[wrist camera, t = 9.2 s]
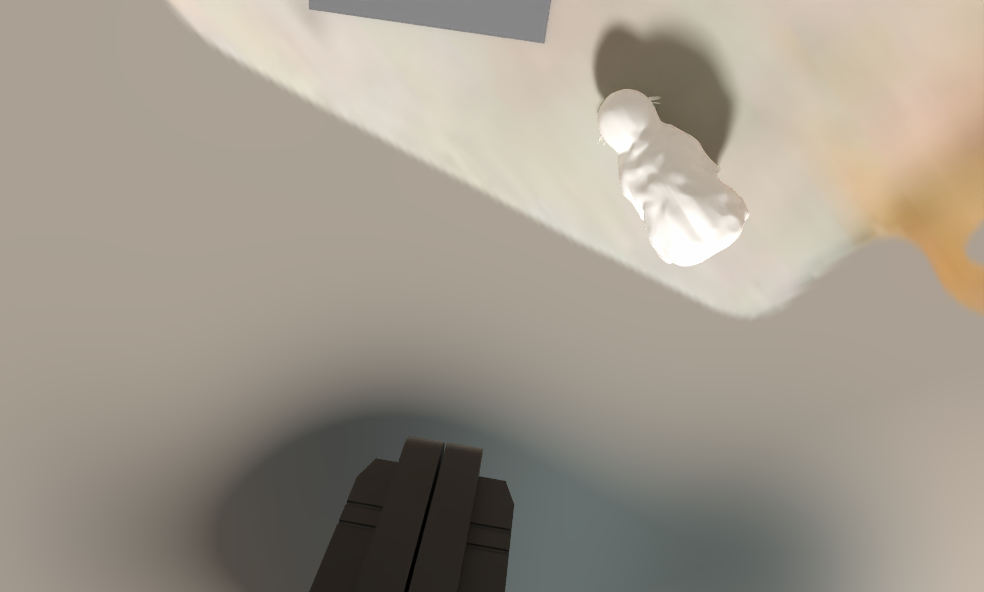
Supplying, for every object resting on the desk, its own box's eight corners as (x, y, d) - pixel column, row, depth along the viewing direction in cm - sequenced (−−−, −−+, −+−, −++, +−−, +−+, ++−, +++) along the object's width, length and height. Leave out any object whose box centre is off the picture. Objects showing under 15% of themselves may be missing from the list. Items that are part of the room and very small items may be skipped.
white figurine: (675, 292, 38) (564, 140, 36) (665, 246, 46) (572, 118, 43) (769, 238, 36) (657, 69, 33) (741, 199, 44) (649, 59, 41)
